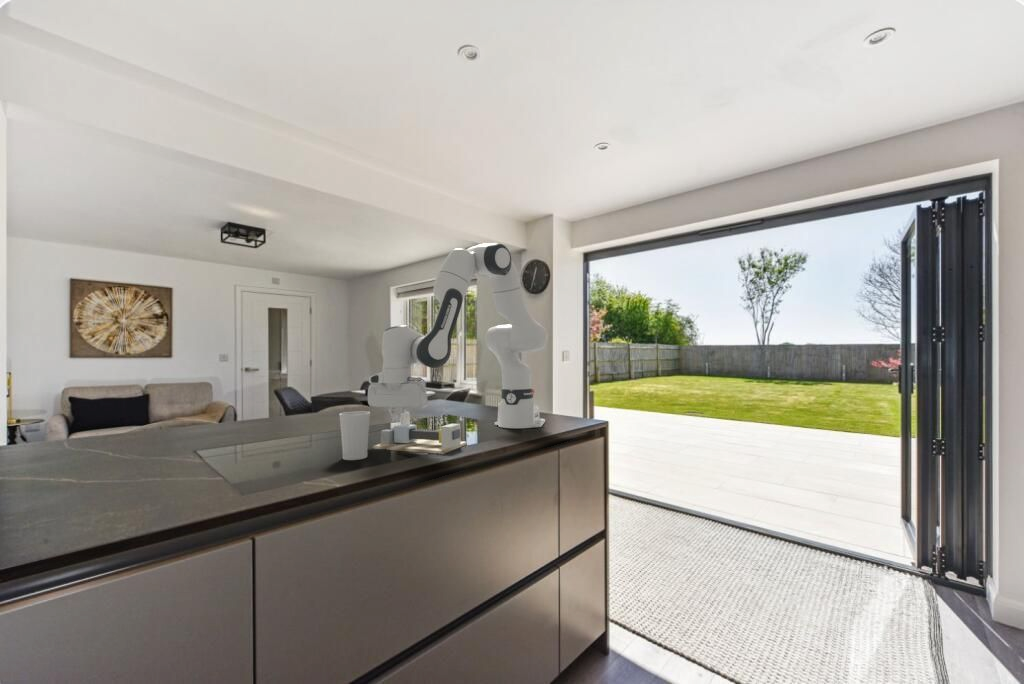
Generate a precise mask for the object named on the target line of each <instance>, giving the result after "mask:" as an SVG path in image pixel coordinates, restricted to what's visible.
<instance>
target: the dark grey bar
mask: <svg viewBox="0 0 1024 684" xmlns="http://www.w3.org/2000/svg"><path fill="white" fill-rule="evenodd" d="M389 430H394V427H392V428H391V429H389ZM409 439H424V440H439V443H441V428H440V429H438V430H432V429H418V428H417V429H409Z"/></svg>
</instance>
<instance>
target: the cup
mask: <svg viewBox="0 0 1024 684" xmlns="http://www.w3.org/2000/svg"><path fill="white" fill-rule="evenodd" d="M370 419H371V412H370V411H363V410H361V411H360V410H359V411H347V412H346V411H345V412H340V413H339V426H340V435H341V438H340V439H341V448H342V449H341V450H342V459H343V460H344V461H345V460H346V461H357V460H363V459H366V458H367V457H368V445H369V432H370V430H369V429H370Z"/></svg>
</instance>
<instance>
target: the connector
mask: <svg viewBox="0 0 1024 684" xmlns="http://www.w3.org/2000/svg"><path fill="white" fill-rule="evenodd" d="M440 429H441V448H452V447H455V446H457V445H460V444H461V441H462V440H461V437H462V436H461V434H462V433H461V423H448V424H446V425H442V426H440Z"/></svg>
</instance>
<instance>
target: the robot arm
mask: <svg viewBox="0 0 1024 684" xmlns="http://www.w3.org/2000/svg"><path fill="white" fill-rule="evenodd" d="M473 277H488V279H489V280H490V287H491V294H492V298H493V303H494V307H495V311H496V313H497V314H498V315H499V316H501V317H503V318H505V319H506V320H507V321H508V322H509V324H499V325H496V326H492V327H490V328H488V330H487V331H486V333H485V336H484V341H485V345H486V347H487V349H488V350H489V351H491V352H492V353H493V354H494V356H495V357H496V358H497V361H498V364H499V366H500V369H501V385H502V387H501V390H500V397H501V401H500V402H499V403H498V405H497V421H494V426H497V425H498V427H499V428H502V429H503V428H504V429H530V428H531V429H532V428H541V427H542V426H543V425H544V424H545V423H546V419H544V418H540V407H539V406H538V404H537V403H536V401H535V399H534V394H535V388H532V371H531V368H530V366H529V365H528V364H527V363H525V362H523V361H522V360H521V359H520V355H519V353H534V352H539V351H542V350H544V349H545V348H546V347H547V344H548V341H549V335H548V332H547V330H546V327H545V326H544V325H542V324H541V323H539V322H538V321H537V320H536V319H534V317H533V316H532V315H531V314H530V312H529V310H528V308H527V306H526V302H525V299H524V294H523V290H522V284H521V280H520V276H519V271H518V269H517V267H516V265H515V262H514V261H512V256H511V252H510V251H509V249H508V247H507V246H506V245H504V244H502V243H499V242H492V243H481V244H477V245H474V246H468V247H466V248H463V247H462V248H458V247H457V248H454V249H453V250H450V252H449V254H448V255H447V256H446V258H445V260H444V261H443V263H442V264H441V266H440V268H439V271H438V273H437V274H436V278H435V281H434V284H433V290H432V291H433V295H434V297H435V299H436V300H437V301H438V303H439V304H438V305H439V306H438V310H437V314H436V317H435V320H434V322H433V325H432V328H431V330H430V331H429V332H428V333H427V334H426V335H424V334H421V333H419V332H418V331H416V330H414V329H413V328H411V327H410V326H409V325H406V324H401V325H394V326H390V327H387V328H386V329H385V330H384V332H383V334H382V340H381V343H382V344H381V355H382V359H383V361H382V362H383V363H382V365H381V366H382V367H381V368H382V369H381V371H380V372H378V373H375V374H373V375H371V376H369V377H368V383H369V385H368V388H367V403H368V405H369V407H374V408H388V413H389V414H390V416H391V422H392V423H401V413H404V412H407V409H424V408H426V407H427V405H428V395H427V394H428V393H427V382H426V381H425V380H424V379H423V378H422V377H415V376H412V366H413V364H414V365H416V366H420V367H421V366H422V367H426V368H427V367H428V368H431V369H432V368H433V369H435V368H440V367H442V366H444V365H445V364H447V362H448V361H449V359H450V357H451V354H452V353H451V352H452V336H453V333H454V330H455V327H456V325H457V321H458V318H459V315H460V312H461V310H462V309H461V308H462V305H463V302H464V299H465V296H466V294H467V292H468V289H469V287H470V285H471V282H472V279H473ZM397 409H398V412H399V413H398V414H397V413H396V412H397Z"/></svg>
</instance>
